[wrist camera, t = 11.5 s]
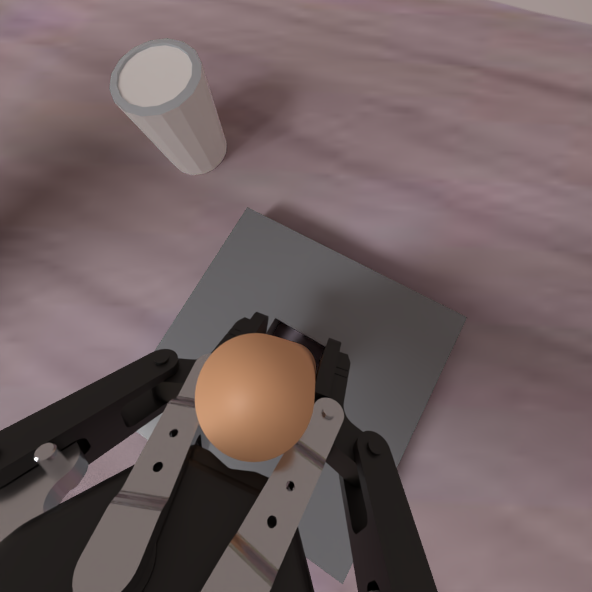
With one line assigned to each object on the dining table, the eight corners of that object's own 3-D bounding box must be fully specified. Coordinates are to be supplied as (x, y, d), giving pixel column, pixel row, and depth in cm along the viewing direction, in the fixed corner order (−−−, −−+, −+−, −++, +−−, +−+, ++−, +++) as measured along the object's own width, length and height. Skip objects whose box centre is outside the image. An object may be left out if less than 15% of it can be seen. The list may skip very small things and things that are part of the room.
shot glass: (239, 122, 25) (210, 37, 18) (225, 184, 24) (188, 117, 17) (174, 118, 26) (123, 34, 19) (157, 177, 24) (95, 111, 18)
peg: (257, 376, 18) (171, 417, 8) (282, 333, 19) (235, 312, 8) (300, 403, 18) (274, 490, 7) (325, 358, 18) (336, 371, 7)
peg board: (137, 406, 20) (113, 414, 18) (254, 222, 23) (247, 207, 20) (338, 550, 17) (342, 584, 15) (448, 321, 20) (466, 317, 17)
